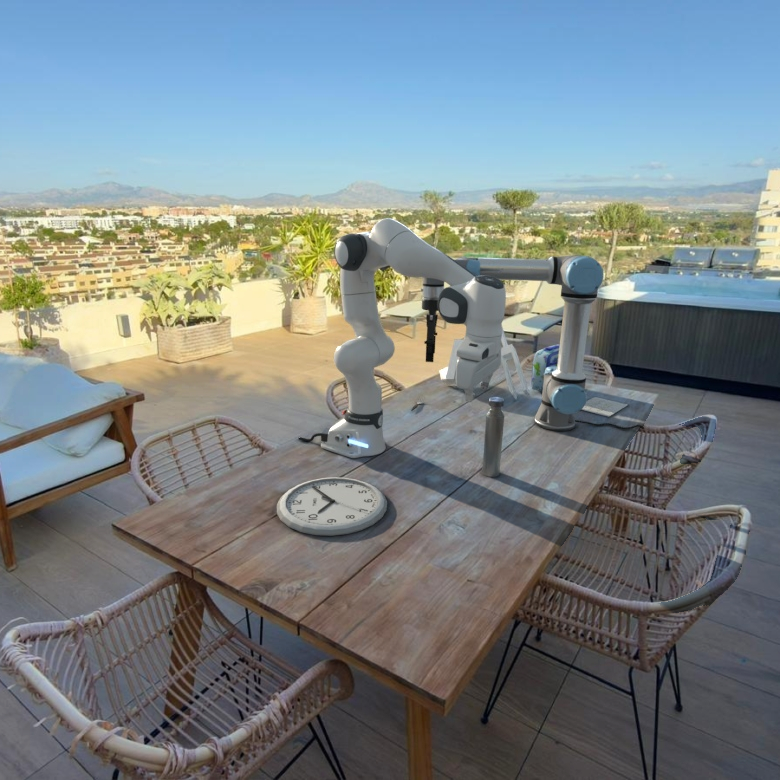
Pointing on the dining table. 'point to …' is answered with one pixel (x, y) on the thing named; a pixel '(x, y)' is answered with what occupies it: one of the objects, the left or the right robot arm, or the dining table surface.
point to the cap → (496, 402)
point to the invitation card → (603, 406)
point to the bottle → (493, 442)
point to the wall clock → (331, 506)
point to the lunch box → (543, 365)
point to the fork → (418, 403)
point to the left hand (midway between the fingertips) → (477, 394)
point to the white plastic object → (506, 354)
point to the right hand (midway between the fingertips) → (430, 357)
